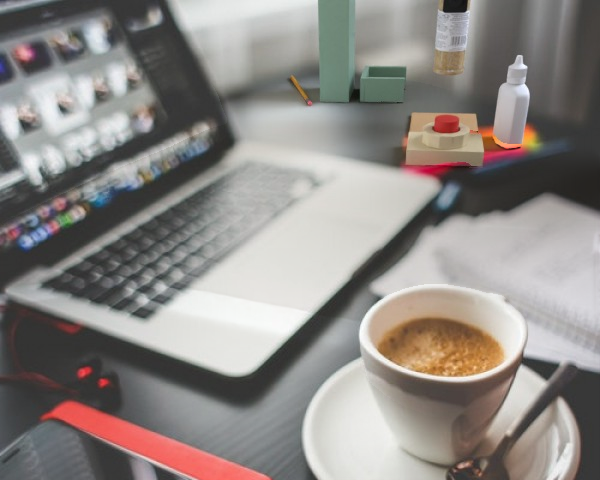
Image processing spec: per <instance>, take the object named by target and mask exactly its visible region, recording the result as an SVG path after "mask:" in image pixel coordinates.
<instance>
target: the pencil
mask: <svg viewBox="0 0 600 480" xmlns="http://www.w3.org/2000/svg"><path fill="white" fill-rule="evenodd" d="M290 80H291V82H292V83H293V84H294V86H295V87H296V88H297V91H298V92H299V94H300V95H301V96H302V98H303V99H304V100H305V103H306V104H307V105H308V106H312V105H313V103H312V100H311V99H310V97H308V95H307V93H306V92H305V90H304V89H303V88H302V86H301V84H300V83H299V82H298V80H297V79H296V78H295V76H293V75H290Z"/></svg>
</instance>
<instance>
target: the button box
mask: <svg viewBox="0 0 600 480" xmlns="http://www.w3.org/2000/svg"><path fill="white" fill-rule="evenodd" d="M478 133H479V132H478ZM478 133H470V130H469V127H468V126H466V125H464V124H462V123H459V127H458V132H456V133H438V132H435V131H434V122H431V123H428V124H426V125H424V126H423V132H410V131H408V133H407V134H408V135H407V142H406V144H407V145H406V153H405V154H406V155H405V166H425V165H436V164H442V163H452V162H453V163H457V162H466V163H469V164H470V165H471V166H482V167H483V165H484V157H485V147H484V142H483V135H482V133H479V134H478Z"/></svg>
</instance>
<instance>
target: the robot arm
mask: <svg viewBox="0 0 600 480" xmlns="http://www.w3.org/2000/svg"><path fill="white" fill-rule="evenodd" d="M467 6H468V0H443V12H444V13H465V12H466V11H467Z"/></svg>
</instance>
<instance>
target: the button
mask: <svg viewBox="0 0 600 480" xmlns="http://www.w3.org/2000/svg"><path fill="white" fill-rule="evenodd" d="M458 127H459V118H458V117H457V116H454V115H439V116H436V117H435V122H434V131H435V132H438V133H456V132H458Z"/></svg>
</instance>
